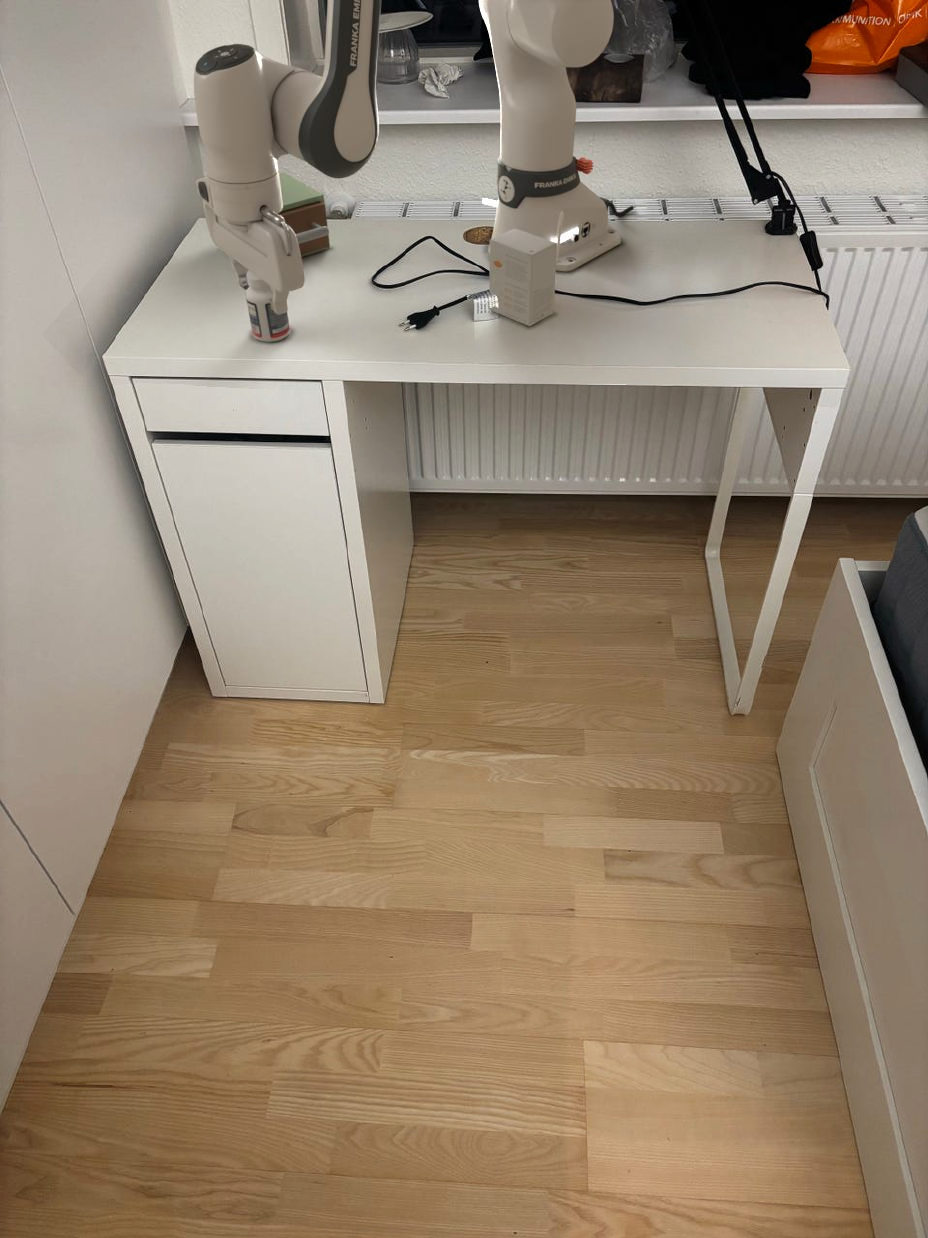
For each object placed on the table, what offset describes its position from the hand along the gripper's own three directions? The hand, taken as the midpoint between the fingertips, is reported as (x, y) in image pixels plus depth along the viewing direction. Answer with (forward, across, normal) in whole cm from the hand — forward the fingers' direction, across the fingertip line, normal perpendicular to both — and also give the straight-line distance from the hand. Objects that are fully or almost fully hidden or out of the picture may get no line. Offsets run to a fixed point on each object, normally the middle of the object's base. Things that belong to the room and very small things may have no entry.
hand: (262, 299), depth 127 cm
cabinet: (+5, +26, -16) cm, 31 cm away
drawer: (+4, +22, -16) cm, 28 cm away
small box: (+5, -17, -32) cm, 37 cm away
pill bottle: (+5, 0, 0) cm, 5 cm away
